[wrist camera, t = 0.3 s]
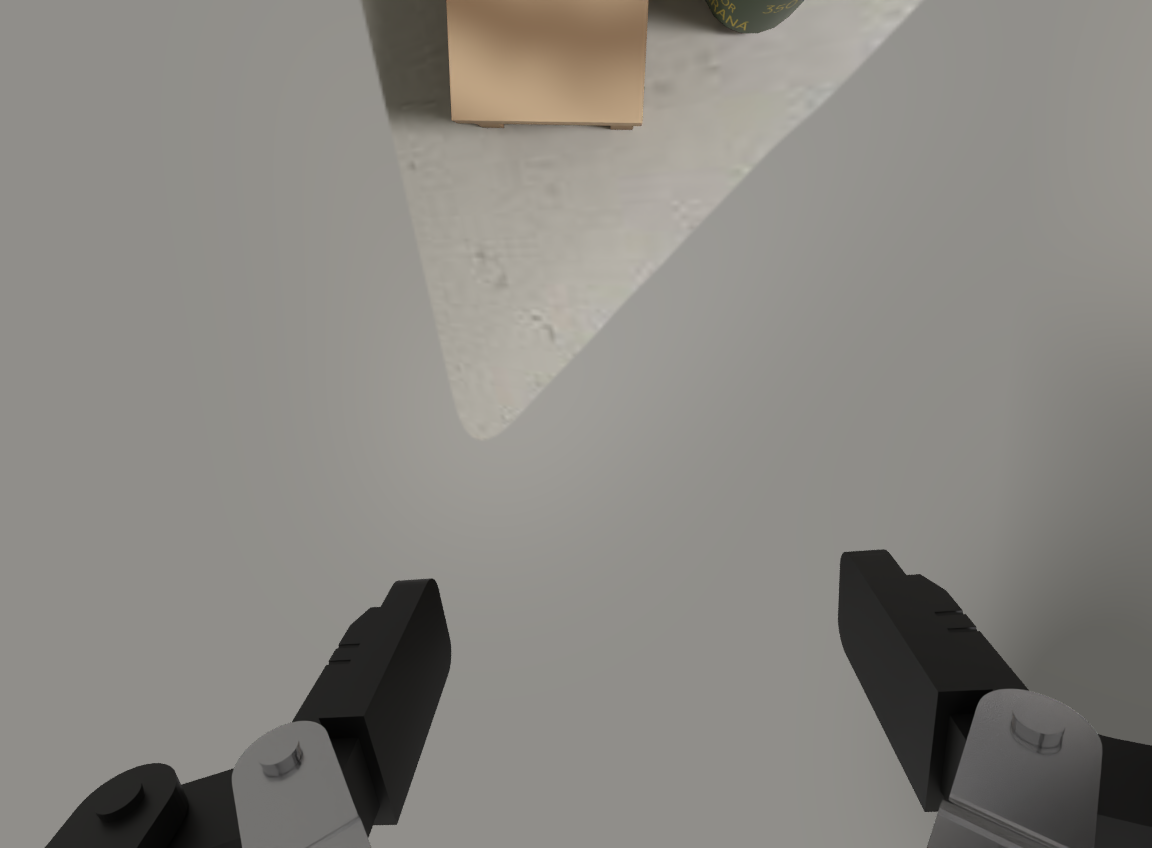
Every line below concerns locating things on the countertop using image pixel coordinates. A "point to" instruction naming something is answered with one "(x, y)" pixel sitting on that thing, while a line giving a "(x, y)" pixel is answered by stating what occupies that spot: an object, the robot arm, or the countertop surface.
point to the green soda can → (752, 13)
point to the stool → (547, 62)
